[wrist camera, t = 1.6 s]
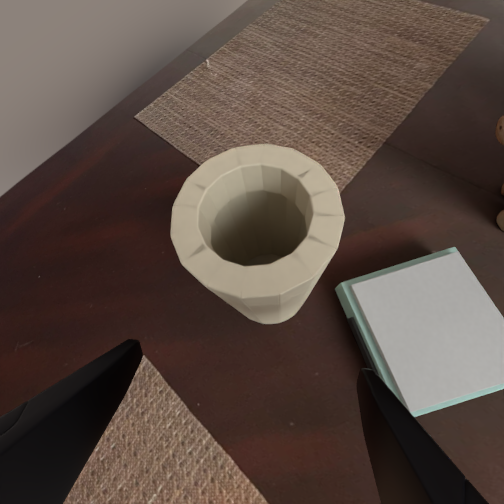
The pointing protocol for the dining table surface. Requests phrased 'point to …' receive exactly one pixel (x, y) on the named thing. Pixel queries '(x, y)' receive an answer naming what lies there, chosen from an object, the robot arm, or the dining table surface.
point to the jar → (258, 228)
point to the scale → (427, 330)
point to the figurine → (503, 218)
